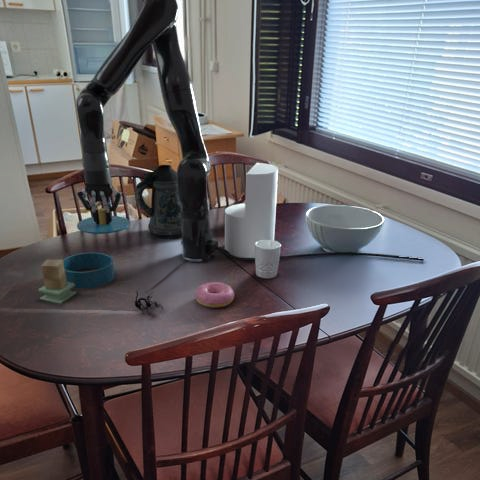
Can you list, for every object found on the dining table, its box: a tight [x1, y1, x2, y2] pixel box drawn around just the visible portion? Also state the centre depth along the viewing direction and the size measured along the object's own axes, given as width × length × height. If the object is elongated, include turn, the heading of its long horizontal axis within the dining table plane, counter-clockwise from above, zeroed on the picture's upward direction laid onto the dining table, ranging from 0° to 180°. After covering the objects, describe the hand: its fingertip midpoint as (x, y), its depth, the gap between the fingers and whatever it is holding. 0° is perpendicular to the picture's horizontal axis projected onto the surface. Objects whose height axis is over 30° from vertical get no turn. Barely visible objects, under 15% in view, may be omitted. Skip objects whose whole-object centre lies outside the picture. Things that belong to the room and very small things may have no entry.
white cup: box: [254, 239, 282, 279], centre depth 148 cm, size 8×8×10 cm
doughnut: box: [194, 281, 235, 309], centre depth 133 cm, size 11×11×4 cm
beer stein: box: [134, 164, 182, 241], centre depth 174 cm, size 16×19×25 cm
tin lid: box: [76, 207, 131, 235], centre depth 149 cm, size 16×16×6 cm
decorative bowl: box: [304, 204, 385, 253], centre depth 168 cm, size 27×27×12 cm
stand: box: [38, 282, 77, 304], centre depth 133 cm, size 7×7×4 cm
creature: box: [133, 290, 164, 318], centre depth 127 cm, size 8×5×8 cm
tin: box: [62, 252, 116, 290], centre depth 144 cm, size 15×15×6 cm
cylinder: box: [224, 162, 279, 258], centre depth 162 cm, size 17×17×28 cm
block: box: [40, 259, 67, 290], centre depth 131 cm, size 4×4×7 cm
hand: (103, 223), depth 150 cm, fingers closed on tin lid, 3 cm apart
